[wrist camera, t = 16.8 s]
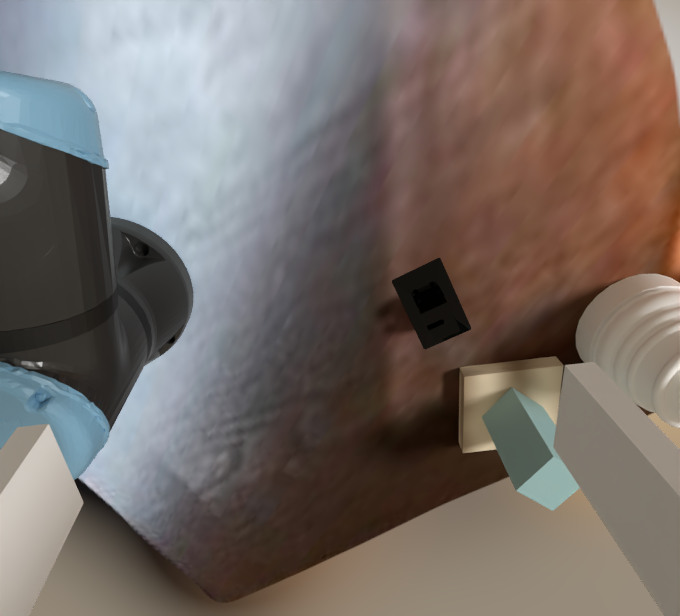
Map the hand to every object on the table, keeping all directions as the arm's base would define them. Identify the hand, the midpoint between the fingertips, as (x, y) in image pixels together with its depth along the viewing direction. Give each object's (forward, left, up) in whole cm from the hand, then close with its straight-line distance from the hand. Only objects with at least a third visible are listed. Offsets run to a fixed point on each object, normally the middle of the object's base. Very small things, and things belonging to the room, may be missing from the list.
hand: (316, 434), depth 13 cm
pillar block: (+19, -30, -35) cm, 49 cm away
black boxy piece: (+11, -16, -37) cm, 42 cm away
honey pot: (+33, -21, -37) cm, 54 cm away
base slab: (+19, -29, -37) cm, 51 cm away
